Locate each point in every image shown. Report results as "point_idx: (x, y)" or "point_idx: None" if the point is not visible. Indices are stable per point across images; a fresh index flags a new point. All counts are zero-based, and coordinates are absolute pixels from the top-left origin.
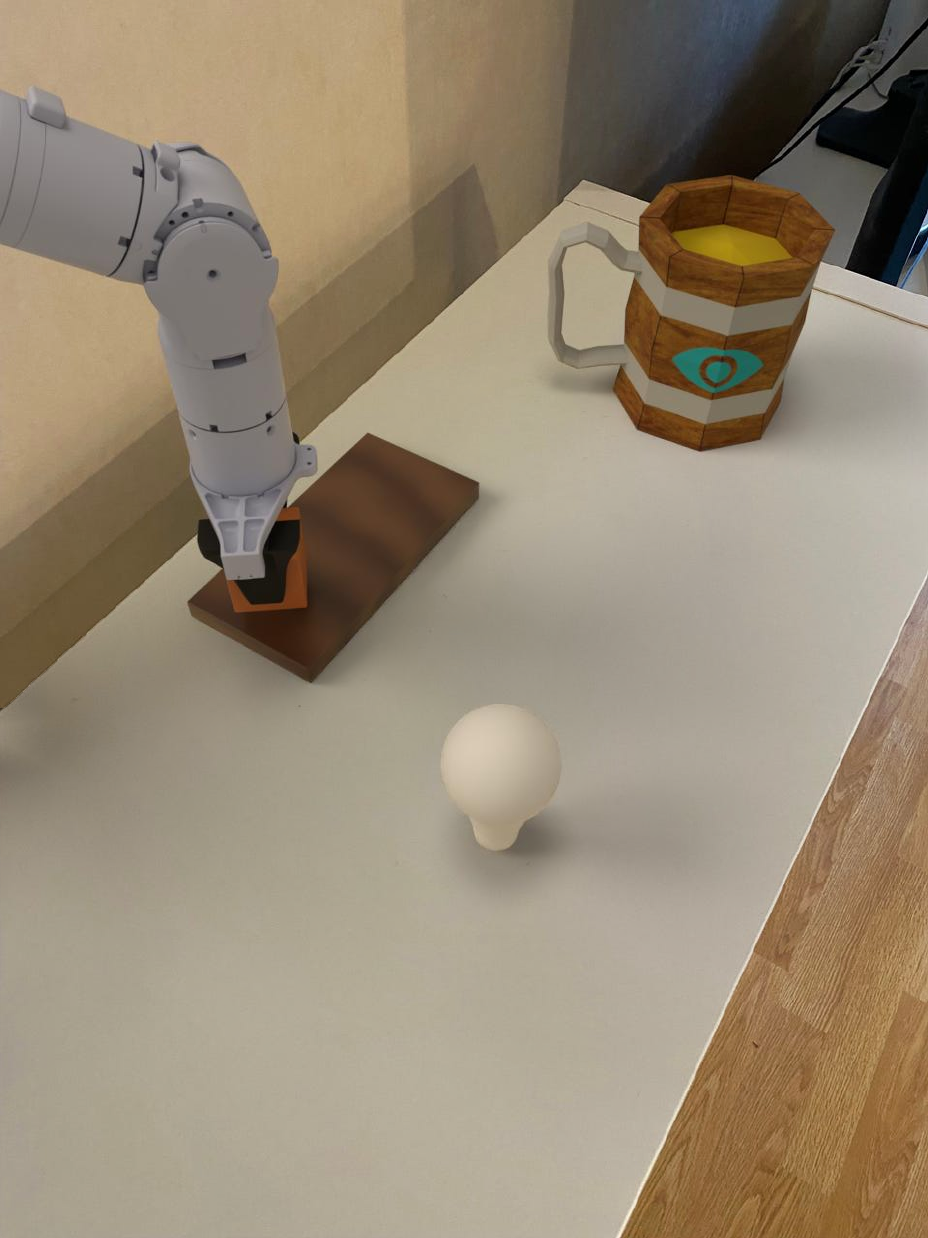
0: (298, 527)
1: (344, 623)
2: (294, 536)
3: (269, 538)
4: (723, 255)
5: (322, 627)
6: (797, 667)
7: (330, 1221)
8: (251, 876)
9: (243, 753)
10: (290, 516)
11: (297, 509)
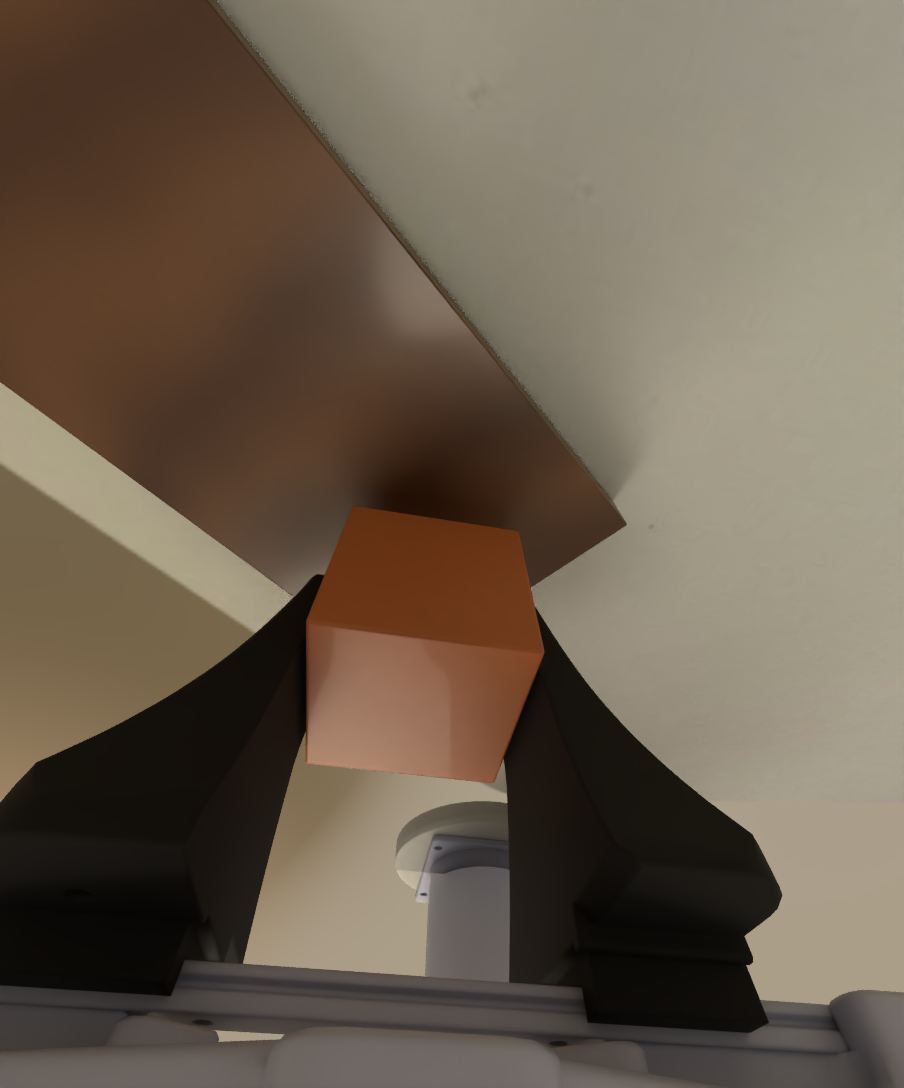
0: (693, 875)
1: (540, 433)
2: (734, 885)
3: (686, 928)
4: None
5: (533, 480)
6: None
7: None
8: (891, 625)
9: (693, 611)
10: (350, 647)
11: (319, 626)
